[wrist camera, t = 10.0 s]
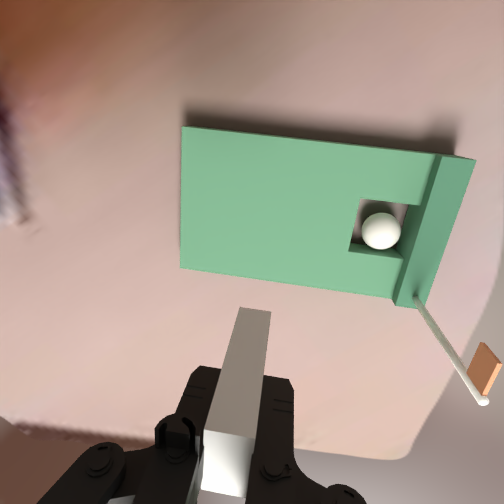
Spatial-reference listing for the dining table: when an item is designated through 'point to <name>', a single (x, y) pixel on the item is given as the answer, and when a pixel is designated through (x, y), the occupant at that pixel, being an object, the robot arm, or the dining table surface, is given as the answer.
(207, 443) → the robot arm
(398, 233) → the ball
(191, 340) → the dining table surface
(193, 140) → the putting mat
